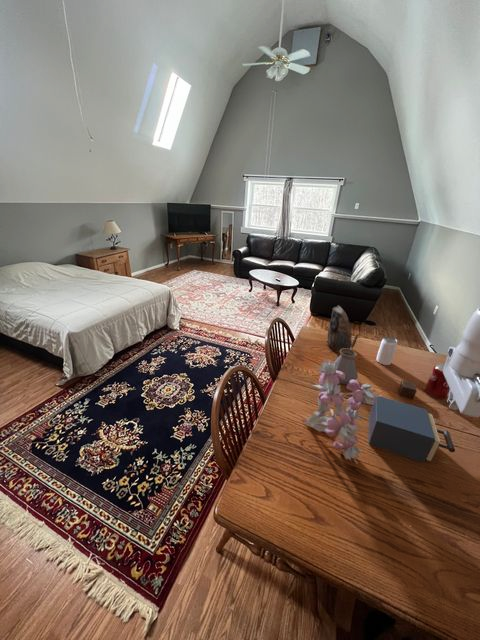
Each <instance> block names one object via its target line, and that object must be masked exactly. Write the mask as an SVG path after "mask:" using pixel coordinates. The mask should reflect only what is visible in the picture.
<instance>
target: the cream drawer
mask: <svg viewBox="0 0 480 640" xmlns="http://www.w3.org/2000/svg"><path fill="white" fill-rule="evenodd" d="M428 417H429V420H430V424H431V427H432V431H433V435H434V438H435V439H434V441H433V443H432V446H431V448H430V450H429V452H428V454H427V456H426V458H425V460H427V461H429V462H431V461H432V460H433V458H434V455H435V453H436V451H437V450H438V448H439V447H440V448H443V449H446V450H448V452H450V453H455V452H456V448H455V445H454V443H453V440H452V437H451V434H450V432H449V430H440V429H438V428H437V426H436V423H435V419H434V416H433V414H431V413H428ZM439 434H442V435H443V437H444V441H445V444H446V445H445V444H443V443H441V439H440V436H439Z"/></svg>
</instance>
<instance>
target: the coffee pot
mask: <svg viewBox="0 0 480 640" xmlns="http://www.w3.org/2000/svg"><path fill="white" fill-rule="evenodd" d="M359 338H360V336H359V333H357V334H356V333H355V334H354V338H353V340H352V342H351V343H352V345H351V348H350V349H347V348H343V349H341V350H340V351H339V353H340V355H339V356H338V357H337V358H336V359H335V361H334V362H332V364H333V366H334V365H335V362H337V364H338V368H337V370H338V371H341V372H343V373H344V374H345V379H344V380H343V379H342V378H341V377H339V376H337V377H338V378H339V384H340V385H341V384H342V385H348V384H349V383H350V380H352V379H353V380H358V378H359V377H358V376H359V375H358V370H357V366H356V362H355V358H356V357H358V354H357V352H356V351H355V350H353V348H354V346H355V345H356V343H357V339H359Z"/></svg>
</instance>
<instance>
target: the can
mask: <svg viewBox="0 0 480 640" xmlns="http://www.w3.org/2000/svg"><path fill="white" fill-rule="evenodd" d="M397 348H398V340H397V339H396V338H395V337H392V336H384V337H383V338H382V340H381V342H380V345H379V348H378V351H377V355H376V358H375V360H376V362H377V363H378V362H379V363H378V364H380V365H382V364H383V366H390V365H392V362H393V360H394V357H395V355H396V354H395V353H396V351H397Z"/></svg>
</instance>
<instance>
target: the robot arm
mask: <svg viewBox="0 0 480 640" xmlns="http://www.w3.org/2000/svg"><path fill="white" fill-rule="evenodd" d="M447 354H448V355H447V357H446V359H445V361H444V362H445V363H444V368H443V374H444V376H445V378H446V381H447V383H448V385H449V387H450V390H449V393H448V397H447V400H446V402H447V405H448V408H449V410H453V411H457V410H459V412H460V414H461V415H464V416H467V417H471V418H475V419H477V418H479V417H480V306H479V307H478V308H477V309H476V310H475V311H474V312H473V313H472V314H471V316H470V318H469V320H468V321H467V323H466V325H465V327H464V329H463V332H462V333H461V340H460V342H459V343H458V344H457V346H456V347H454V346H450V347H449V348H448V350H447Z"/></svg>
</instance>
